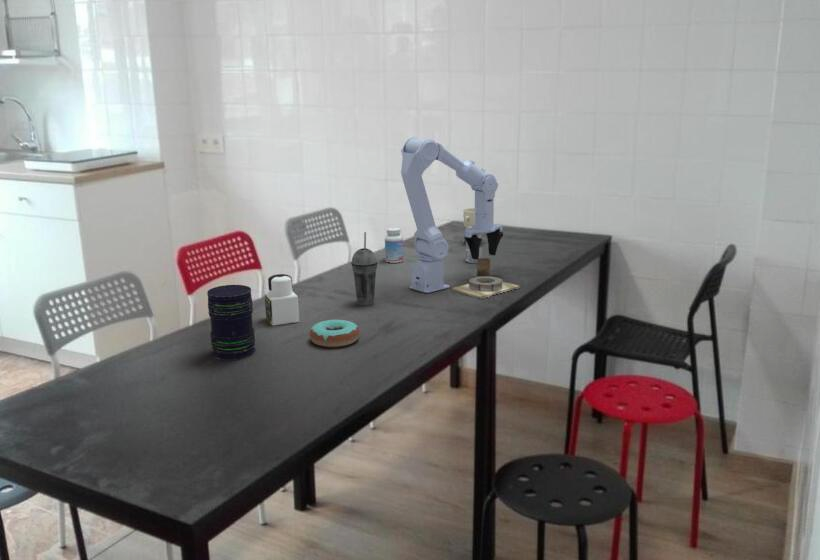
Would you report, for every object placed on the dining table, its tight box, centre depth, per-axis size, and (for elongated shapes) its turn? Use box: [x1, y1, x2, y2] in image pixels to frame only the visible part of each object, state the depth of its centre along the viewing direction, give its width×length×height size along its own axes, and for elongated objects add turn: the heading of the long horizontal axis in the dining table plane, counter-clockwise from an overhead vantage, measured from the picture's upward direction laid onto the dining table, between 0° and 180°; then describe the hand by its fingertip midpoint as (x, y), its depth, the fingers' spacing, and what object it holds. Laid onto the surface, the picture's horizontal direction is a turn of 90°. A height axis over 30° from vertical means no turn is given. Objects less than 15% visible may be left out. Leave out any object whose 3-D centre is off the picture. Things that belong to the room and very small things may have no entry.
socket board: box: [451, 275, 520, 300], centre depth 223 cm, size 16×12×3 cm
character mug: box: [462, 207, 475, 245], centre depth 280 cm, size 11×7×13 cm, turn 144°
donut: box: [309, 319, 360, 348], centre depth 182 cm, size 12×12×4 cm
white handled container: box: [264, 273, 300, 327], centre depth 196 cm, size 7×7×12 cm
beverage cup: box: [350, 231, 378, 307], centre depth 209 cm, size 7×7×20 cm
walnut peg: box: [476, 257, 491, 277], centre depth 235 cm, size 4×4×6 cm
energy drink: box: [465, 225, 483, 264], centre depth 255 cm, size 5×5×12 cm
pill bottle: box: [384, 227, 404, 264], centre depth 257 cm, size 6×6×11 cm
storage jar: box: [206, 284, 256, 361], centre depth 173 cm, size 10×10×15 cm
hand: (483, 256), depth 234 cm, fingers open, 7 cm apart
